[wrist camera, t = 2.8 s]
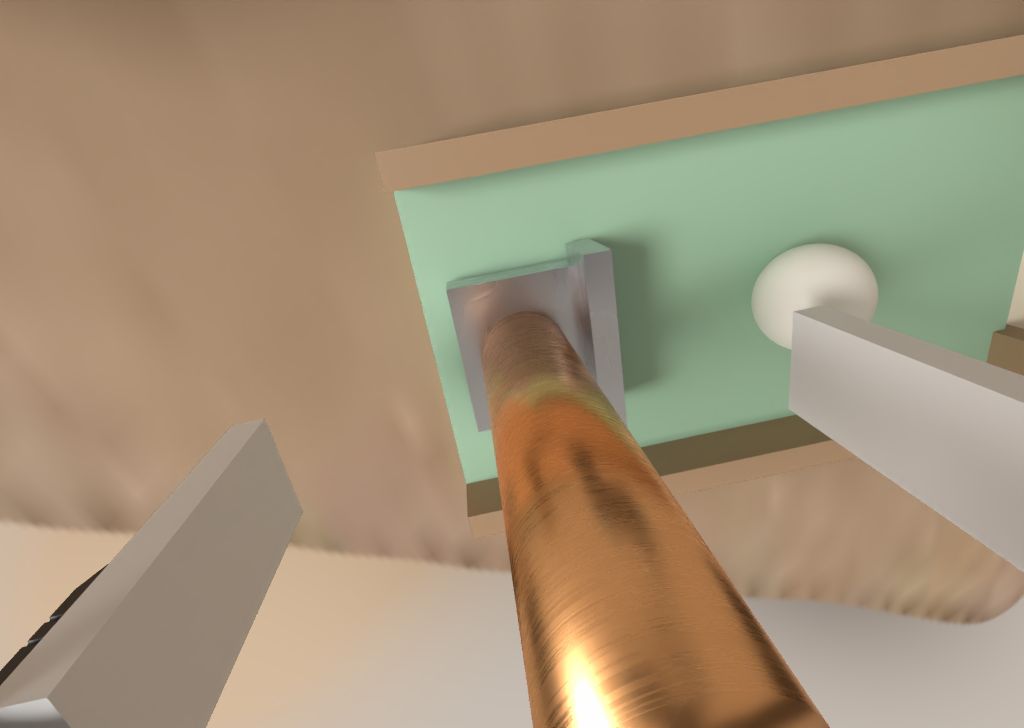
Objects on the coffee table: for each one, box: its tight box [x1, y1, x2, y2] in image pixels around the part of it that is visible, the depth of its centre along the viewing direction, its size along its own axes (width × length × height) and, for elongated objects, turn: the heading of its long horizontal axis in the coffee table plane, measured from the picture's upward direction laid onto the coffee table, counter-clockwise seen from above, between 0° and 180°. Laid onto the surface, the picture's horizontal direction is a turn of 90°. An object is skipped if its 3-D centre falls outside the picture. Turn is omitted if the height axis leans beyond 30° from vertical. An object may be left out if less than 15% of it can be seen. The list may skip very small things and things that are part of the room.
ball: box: [751, 243, 878, 350], centre depth 16 cm, size 4×4×4 cm
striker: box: [446, 239, 830, 728], centre depth 11 cm, size 6×5×13 cm
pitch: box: [374, 35, 1024, 539], centre depth 17 cm, size 13×28×4 cm, turn 100°
